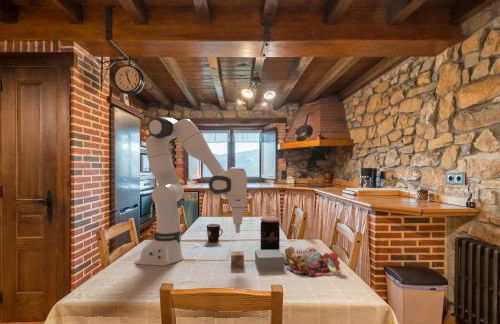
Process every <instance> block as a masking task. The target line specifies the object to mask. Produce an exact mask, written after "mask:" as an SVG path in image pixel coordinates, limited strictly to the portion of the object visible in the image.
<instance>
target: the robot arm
mask: <svg viewBox="0 0 500 324" xmlns="http://www.w3.org/2000/svg"><path fill="white" fill-rule="evenodd" d="M147 131H148V133H149V135H150V136H148V138H146V140H145V150H146V156H147V160H148V163H149V168H150V171H151V172H150V173H151V174H152V176H153V177H154V179H155V180H156V182H157V186H155V187H154V188H153V189H152V192H151V199H152V201H153V203H154V205H155V212H156V217H157V223H156V225H157V228H156V229H157V230H155V231H154V232H153V234H152V238H153V239H151V240H150V241H149V242H148V243H146V244H145V245H144V246H143V248H142V249H141V251H140V255H139V256H138V257H137V258H136V259H135V264H136V265H147V266H167V265H171V264H174V263H178V262H180V261H182V260H183V259H184V256H183V254H182V253H183V252H182V247H181V246H182V245H181V241H182V231H181V215H180V213H179V212H180V211H179V208H178V202H179V201H180V200H181V199H182V198H183V196H184V193H185V192H184V191H185V189H184V186H183V185H182V184H181V180H180V178H179V176H178V174H177V172H176V170H175V168H174V163H173V160H172V156H171V153H170V149H169V143H173V142H174V141H176V140H178V141H179V142H180V144H181V146H182V148H183V149H184V150H185V152H186V153H187V154H188V155H189V156H190V157H192V158H194V159H196V160H198V161H199V162H201V163H202V164H204V165H205V167H206V168H207V169H208V171H209V172H210V174H211V175H212V176H211V177H210V179H209V181H208V189H209V190H210V191H211V192H212V193H213V194H215V195H223V194H228V206H229V207H230V209H231V213H232V214H231V215H232V222H233V224H234V225H235V234H240V232H241V231H240V230H241V225H242V223H243V216H244V209H245V207H247V205H248V193H247V189H248V188H247V187H248V176H247V171H246V170H245V169H243V168H240V167H235V166H231V167H229V168H228V169H227V170H225V169H224V167H222V165H221V164H220V162H219V161H218V159H217V157H216V156H215V155H214V154H213V152H212V150H211V148H210V146H209V144H208V142H207V140H206V139H205V137H204V135H203V134H202V132H201V131H200V129H199V128H198V127H197V126H196V124H195V123H194V122H193V121H192V120H190V119H188V118H182V119H180V120H178V119H176V118H173V117H172V118H171V117H168V116H166V117H164V116H155V117H152V118H151V119H149V121H148V123H147Z"/></svg>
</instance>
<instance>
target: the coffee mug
mask: <svg viewBox="0 0 500 324" xmlns="http://www.w3.org/2000/svg"><path fill="white" fill-rule="evenodd" d="M206 233H207V241H208V243H217V242H219V239H220V237H221V236H222V235H223V233H224V231H223V228H221V224H219V223H209V224H206Z"/></svg>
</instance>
